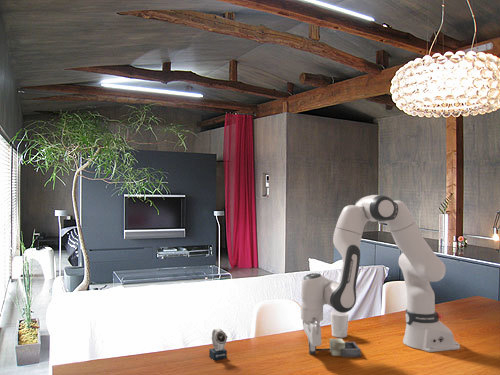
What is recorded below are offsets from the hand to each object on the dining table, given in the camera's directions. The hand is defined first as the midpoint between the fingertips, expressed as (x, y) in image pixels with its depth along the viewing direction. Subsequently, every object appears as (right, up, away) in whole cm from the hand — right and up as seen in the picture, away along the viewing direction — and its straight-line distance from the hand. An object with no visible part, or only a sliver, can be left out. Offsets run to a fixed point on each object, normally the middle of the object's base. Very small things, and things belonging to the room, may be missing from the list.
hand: (311, 349), depth 174 cm
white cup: (+16, -2, +22) cm, 27 cm away
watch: (-37, -2, -5) cm, 38 cm away
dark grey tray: (+15, -2, +1) cm, 15 cm away
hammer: (+6, -2, 0) cm, 6 cm away
